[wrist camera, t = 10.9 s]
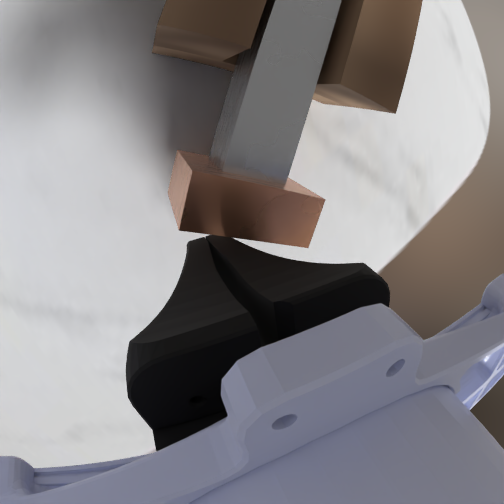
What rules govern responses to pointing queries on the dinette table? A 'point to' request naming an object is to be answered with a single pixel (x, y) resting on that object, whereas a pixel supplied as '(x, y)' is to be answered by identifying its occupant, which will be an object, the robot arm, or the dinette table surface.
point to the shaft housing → (337, 55)
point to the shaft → (260, 135)
